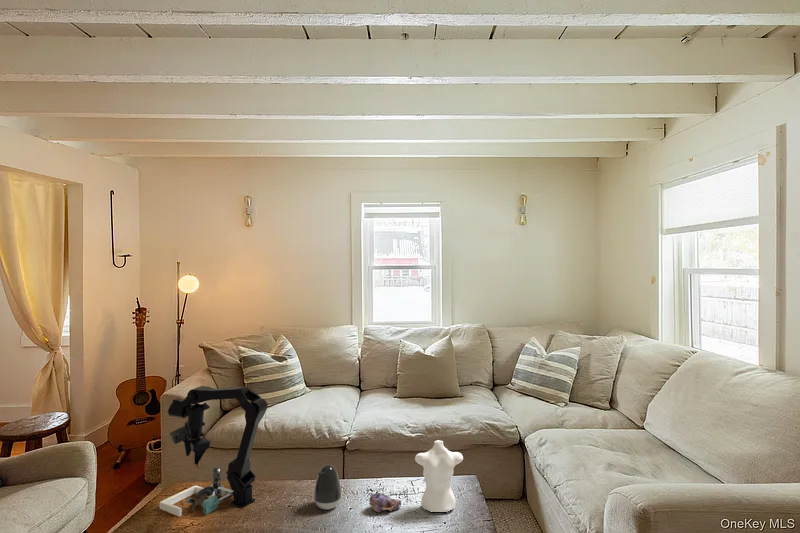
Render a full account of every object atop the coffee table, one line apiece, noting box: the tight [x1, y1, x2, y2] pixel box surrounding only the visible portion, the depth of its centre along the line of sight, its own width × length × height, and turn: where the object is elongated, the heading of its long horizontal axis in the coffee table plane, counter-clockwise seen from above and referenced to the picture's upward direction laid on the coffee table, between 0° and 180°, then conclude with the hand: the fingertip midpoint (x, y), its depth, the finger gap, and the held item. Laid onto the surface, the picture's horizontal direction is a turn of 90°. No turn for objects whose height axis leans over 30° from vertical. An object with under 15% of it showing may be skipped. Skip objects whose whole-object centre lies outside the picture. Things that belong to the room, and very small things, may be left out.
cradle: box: [214, 484, 226, 497], centre depth 172 cm, size 2×5×3 cm, turn 152°
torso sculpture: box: [414, 439, 464, 512], centre depth 164 cm, size 18×10×25 cm, turn 95°
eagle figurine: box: [184, 486, 214, 513], centre depth 163 cm, size 8×7×9 cm
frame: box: [159, 484, 215, 517], centre depth 165 cm, size 11×15×2 cm
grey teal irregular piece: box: [202, 466, 234, 515], centre depth 166 cm, size 13×14×10 cm
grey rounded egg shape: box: [313, 464, 342, 511], centre depth 164 cm, size 10×10×15 cm
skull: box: [368, 492, 402, 513], centre depth 162 cm, size 12×8×6 cm, turn 96°
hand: (191, 459), depth 171 cm, fingers open, 9 cm apart
